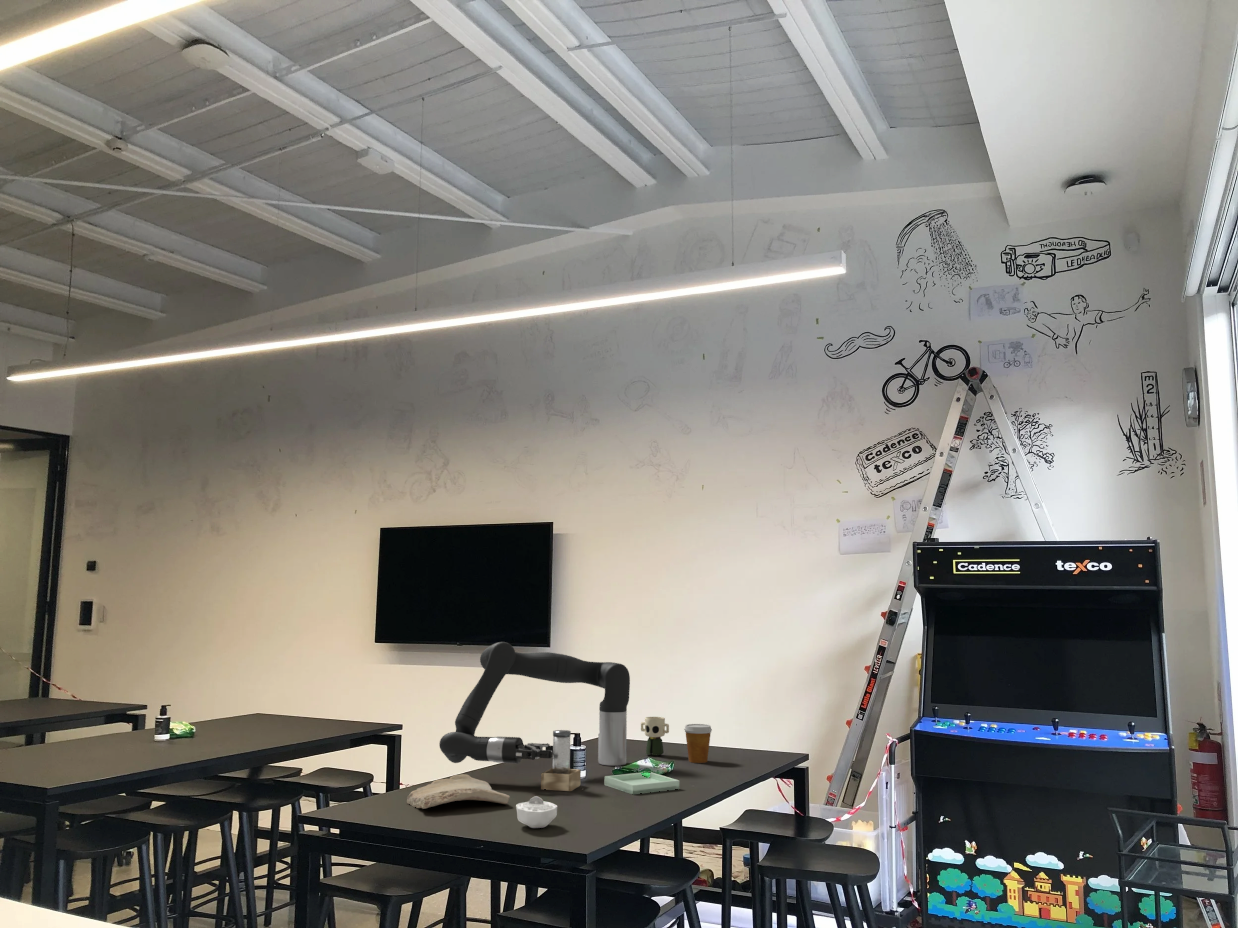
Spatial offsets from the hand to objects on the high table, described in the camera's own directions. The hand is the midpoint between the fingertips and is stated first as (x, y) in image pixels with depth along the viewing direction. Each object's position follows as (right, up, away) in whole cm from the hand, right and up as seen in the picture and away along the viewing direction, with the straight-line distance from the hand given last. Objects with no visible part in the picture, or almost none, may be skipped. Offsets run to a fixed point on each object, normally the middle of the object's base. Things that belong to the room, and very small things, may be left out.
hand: (556, 751), depth 286 cm
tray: (+25, -10, -1) cm, 27 cm away
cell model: (-2, -3, -51) cm, 51 cm away
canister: (+1, -10, -2) cm, 10 cm away
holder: (+1, -10, -2) cm, 10 cm away
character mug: (+31, -18, +57) cm, 68 cm away
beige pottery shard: (-25, -7, -26) cm, 37 cm away
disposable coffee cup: (+45, -17, +45) cm, 66 cm away
